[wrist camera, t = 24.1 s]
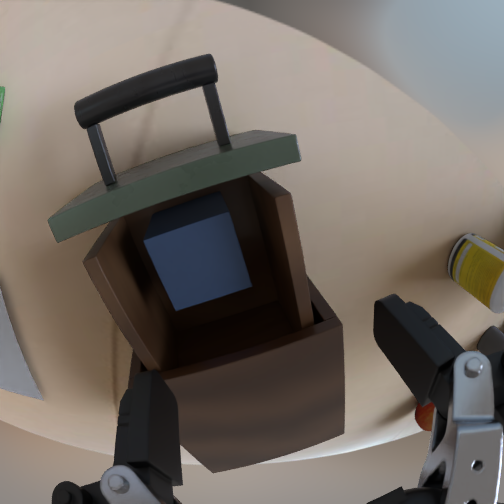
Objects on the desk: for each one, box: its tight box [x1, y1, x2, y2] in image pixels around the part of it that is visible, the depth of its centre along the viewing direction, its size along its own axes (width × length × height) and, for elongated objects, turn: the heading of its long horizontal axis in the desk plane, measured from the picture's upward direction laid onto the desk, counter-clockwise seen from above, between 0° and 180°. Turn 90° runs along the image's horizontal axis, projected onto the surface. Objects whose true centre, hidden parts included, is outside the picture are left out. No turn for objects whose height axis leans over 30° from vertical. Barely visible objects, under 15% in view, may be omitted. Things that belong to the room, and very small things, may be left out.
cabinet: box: [128, 276, 345, 473], centre depth 22 cm, size 15×13×10 cm
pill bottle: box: [448, 233, 504, 313], centre depth 24 cm, size 6×6×12 cm
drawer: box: [48, 54, 314, 373], centre depth 16 cm, size 18×11×8 cm, turn 14°
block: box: [143, 191, 252, 311], centre depth 17 cm, size 5×5×5 cm
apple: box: [415, 402, 435, 431], centre depth 40 cm, size 8×8×8 cm
